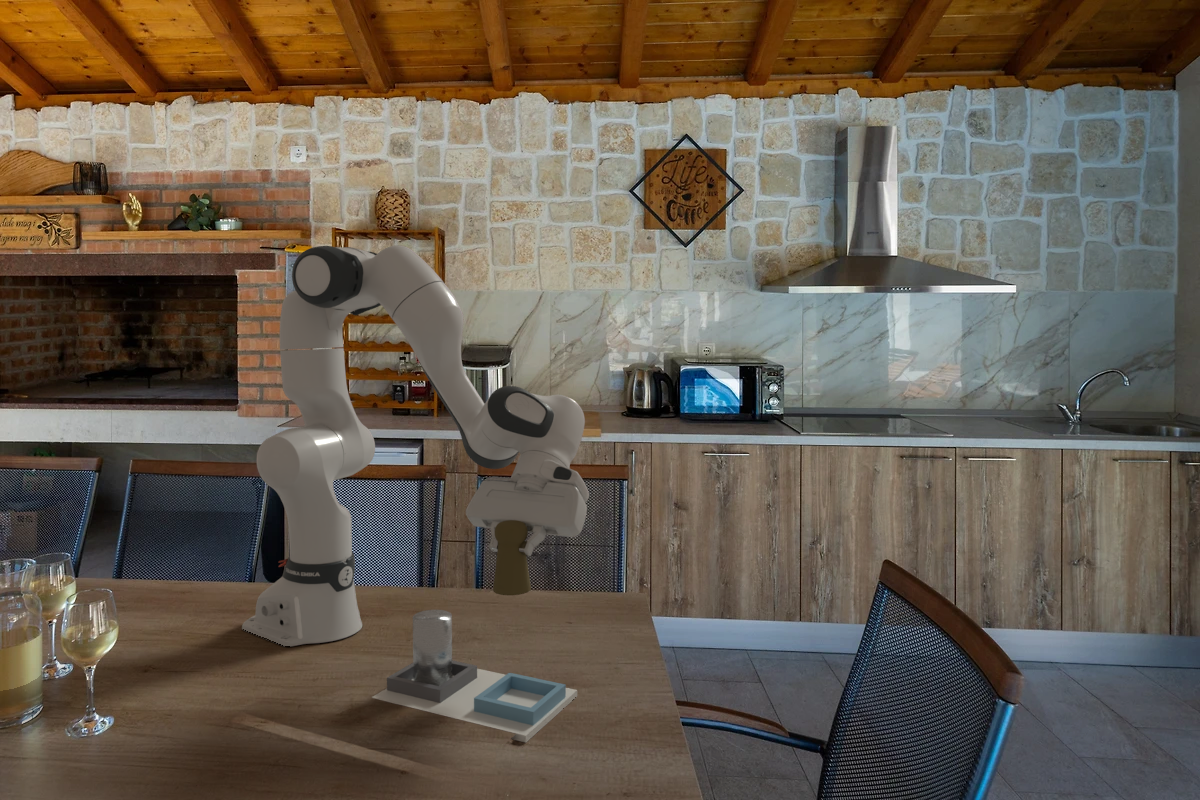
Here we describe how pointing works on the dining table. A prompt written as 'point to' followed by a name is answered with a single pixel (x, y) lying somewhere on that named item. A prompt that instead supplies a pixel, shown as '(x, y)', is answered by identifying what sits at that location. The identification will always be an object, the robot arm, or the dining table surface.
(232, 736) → the dining table surface
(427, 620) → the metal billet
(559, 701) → the pallet board
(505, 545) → the cork
